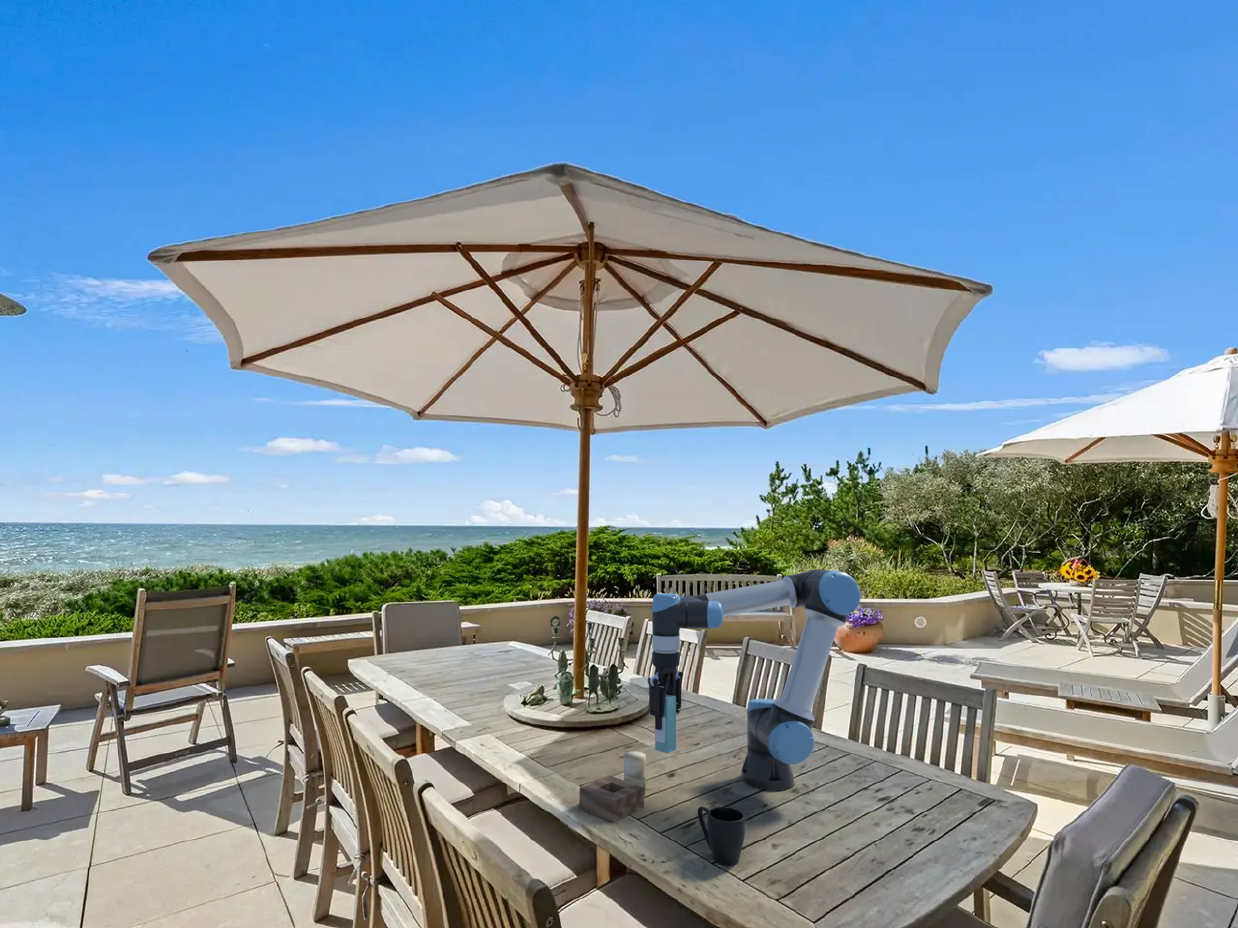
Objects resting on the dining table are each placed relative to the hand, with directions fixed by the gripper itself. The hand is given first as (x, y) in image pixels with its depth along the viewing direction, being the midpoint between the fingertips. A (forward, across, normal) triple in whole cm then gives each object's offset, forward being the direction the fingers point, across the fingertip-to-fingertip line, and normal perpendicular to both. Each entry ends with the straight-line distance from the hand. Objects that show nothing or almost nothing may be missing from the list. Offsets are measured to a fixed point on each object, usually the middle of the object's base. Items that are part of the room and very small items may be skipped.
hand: (665, 739), depth 172 cm
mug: (+17, +16, +26) cm, 34 cm away
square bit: (+3, 0, 0) cm, 3 cm away
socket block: (+16, +12, -8) cm, 22 cm away
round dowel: (+16, 0, -10) cm, 19 cm away
